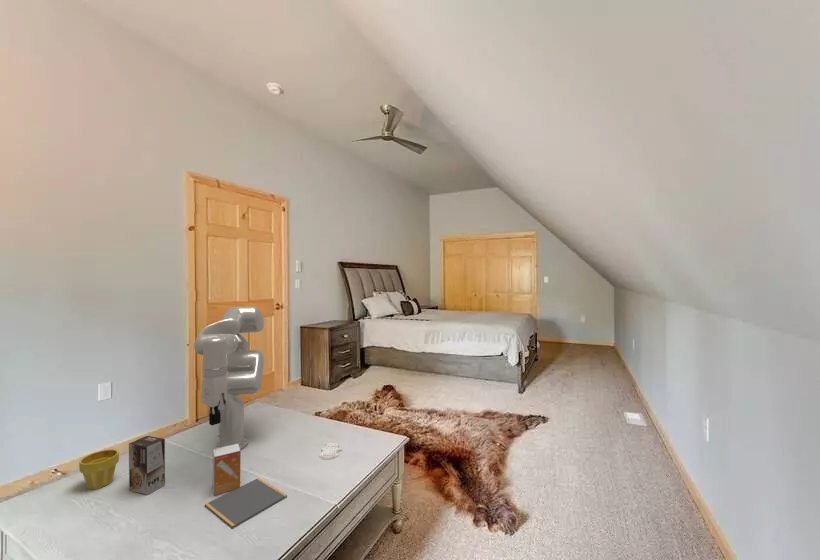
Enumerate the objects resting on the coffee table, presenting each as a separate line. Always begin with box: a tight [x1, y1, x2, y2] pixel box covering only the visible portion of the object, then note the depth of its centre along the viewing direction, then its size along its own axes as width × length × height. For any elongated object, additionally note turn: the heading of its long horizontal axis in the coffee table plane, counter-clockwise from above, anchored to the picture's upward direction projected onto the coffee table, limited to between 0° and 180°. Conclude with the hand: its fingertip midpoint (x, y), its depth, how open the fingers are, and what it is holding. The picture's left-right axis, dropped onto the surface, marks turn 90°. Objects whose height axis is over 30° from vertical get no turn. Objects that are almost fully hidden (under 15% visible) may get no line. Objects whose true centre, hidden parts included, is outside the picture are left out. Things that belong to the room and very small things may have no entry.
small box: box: [212, 444, 242, 496], centre depth 120 cm, size 8×6×13 cm
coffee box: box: [128, 435, 166, 496], centre depth 120 cm, size 9×6×16 cm
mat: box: [204, 477, 288, 530], centre depth 112 cm, size 17×18×1 cm
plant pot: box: [78, 448, 120, 490], centre depth 122 cm, size 10×10×10 cm
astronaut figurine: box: [318, 442, 343, 461], centre depth 144 cm, size 9×12×3 cm
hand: (214, 423), depth 124 cm, fingers closed
